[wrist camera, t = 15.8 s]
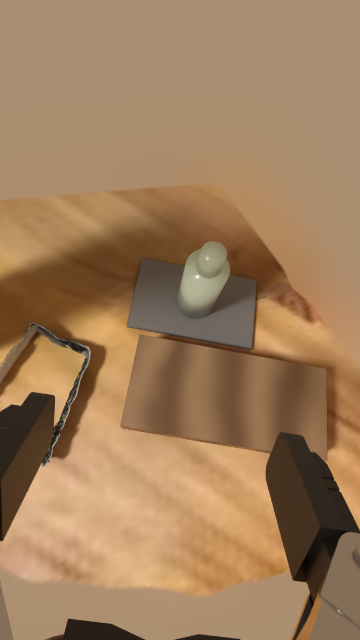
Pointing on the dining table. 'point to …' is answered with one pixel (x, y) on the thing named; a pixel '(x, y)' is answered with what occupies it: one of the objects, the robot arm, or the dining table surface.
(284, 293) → the dining table surface
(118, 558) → the dining table surface
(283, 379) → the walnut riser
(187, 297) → the celadon bottle
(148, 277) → the charcoal mat
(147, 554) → the dining table surface
